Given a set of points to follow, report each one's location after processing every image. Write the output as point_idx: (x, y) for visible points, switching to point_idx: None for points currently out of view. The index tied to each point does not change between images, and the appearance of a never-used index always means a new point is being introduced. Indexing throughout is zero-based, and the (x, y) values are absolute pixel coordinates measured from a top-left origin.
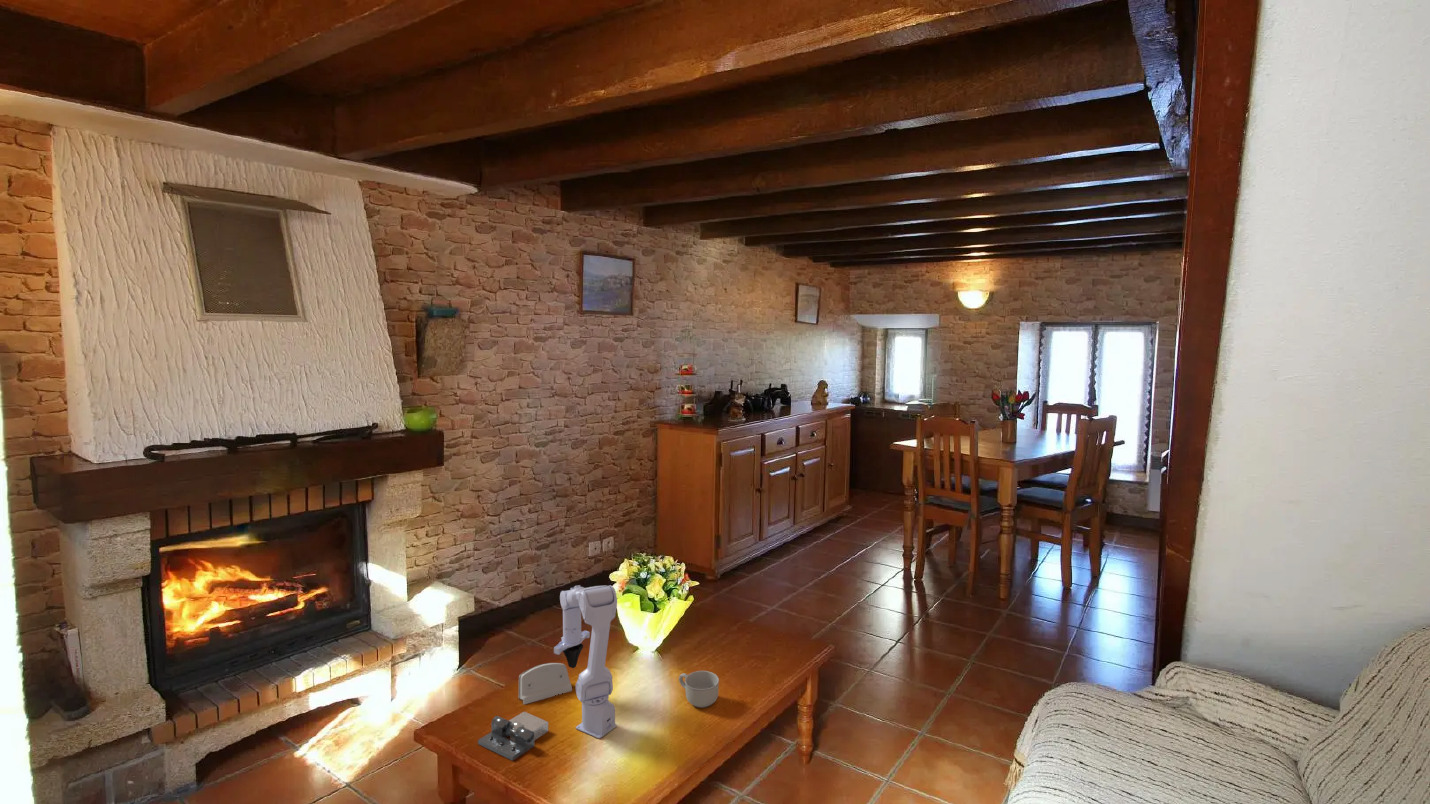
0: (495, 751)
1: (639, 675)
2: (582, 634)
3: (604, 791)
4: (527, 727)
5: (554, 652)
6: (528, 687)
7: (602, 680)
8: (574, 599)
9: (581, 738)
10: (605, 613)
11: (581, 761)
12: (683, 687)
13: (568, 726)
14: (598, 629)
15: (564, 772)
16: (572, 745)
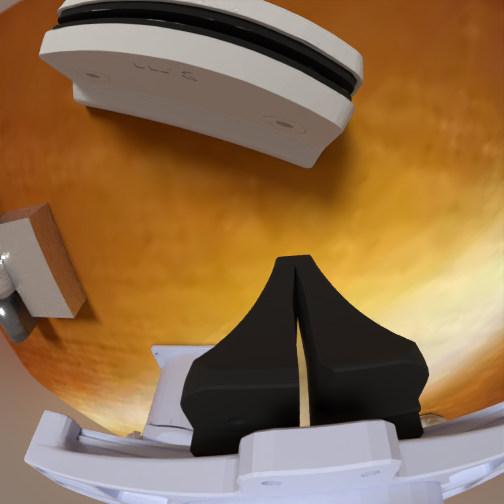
0: None
1: (497, 287)
2: (479, 479)
3: (118, 434)
4: (22, 293)
5: (46, 422)
6: (90, 78)
7: None
8: None
9: (145, 370)
10: None
11: (113, 398)
12: (430, 423)
13: (142, 324)
14: None
15: (79, 390)
16: (117, 368)
